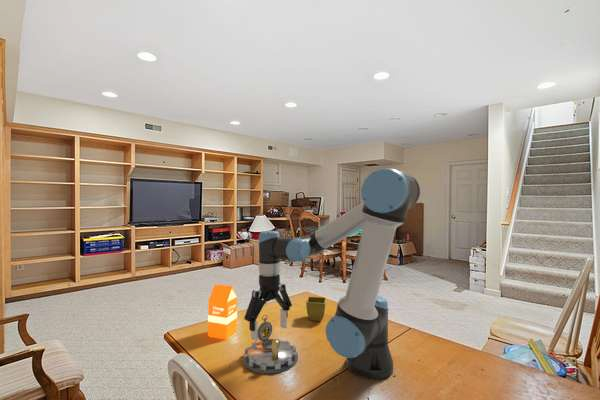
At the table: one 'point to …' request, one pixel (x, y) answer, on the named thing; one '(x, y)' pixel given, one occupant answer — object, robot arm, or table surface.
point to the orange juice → (222, 312)
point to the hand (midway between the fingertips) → (269, 333)
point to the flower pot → (315, 308)
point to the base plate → (272, 370)
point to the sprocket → (270, 355)
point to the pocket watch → (265, 334)
